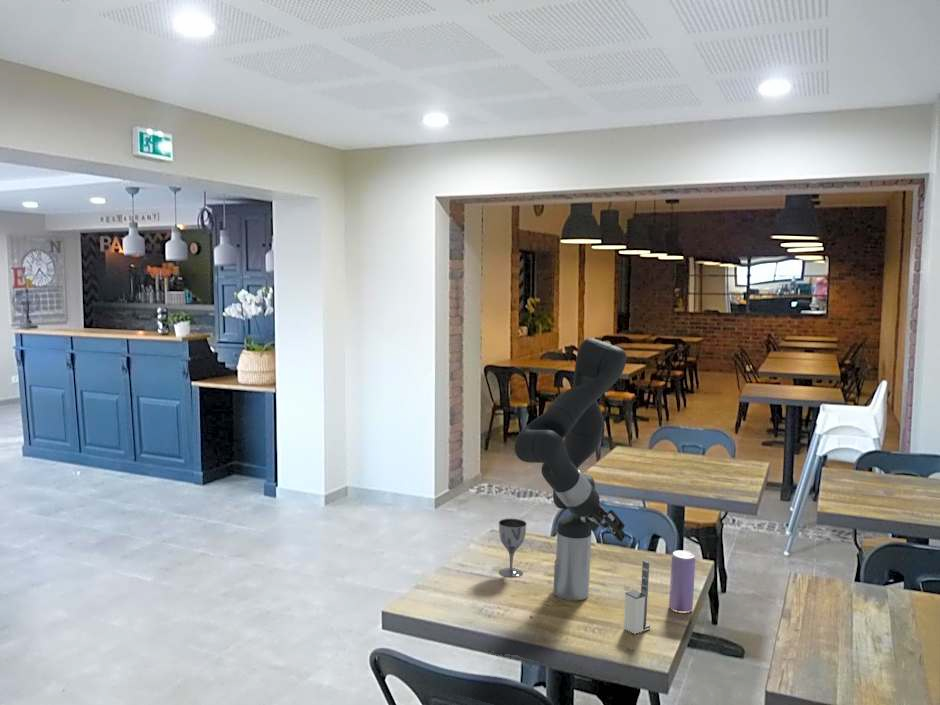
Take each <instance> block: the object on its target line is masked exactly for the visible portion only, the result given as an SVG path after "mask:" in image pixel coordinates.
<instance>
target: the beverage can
mask: <svg viewBox="0 0 940 705" xmlns="http://www.w3.org/2000/svg"><path fill="white" fill-rule="evenodd" d="M695 571H696V555H695V554H694V553H693V552H691V551H687V550H675V551H673V552H672V555H671V565H670V581H669V582H670V583H669V599H668V600H669V601H668V607H669V608H672V609H674V610H677V611H690V610H691V611H693V605H694V591H695V590H694V589H695V573H696V572H695Z"/></svg>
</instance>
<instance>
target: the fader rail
mask: <svg viewBox="0 0 940 705" xmlns="http://www.w3.org/2000/svg"><path fill="white" fill-rule="evenodd" d="M640 569H641V575H640V576H641V583H640V586H641V587H640V588H641V589H640V593H642V594H644V595H645V605H644V623H643V629H644V630H645V629H647V628H650V629H651V625H649V624H648V623H647V613H648V597H649V596H648V593H649V575H650V574H649V573H650V562H649V561H646V560H643V561H642V565H641V568H640Z"/></svg>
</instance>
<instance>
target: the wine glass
mask: <svg viewBox="0 0 940 705" xmlns="http://www.w3.org/2000/svg"><path fill="white" fill-rule="evenodd" d="M498 534H499V535H498V536H499V540H500V543H501V544H502V545H503V546H504V548H505V549H506V550H507V552H508V554H509V556H508V557H509V567H505V568H501V569H499V570H498V574H499V575H500V576H501V577H504V578H511V579H512V578H520V577H521V576H523V575H524V571H522V570H521V569H518V568H515V567H513V563H514V562H513V561H514V556H515V553H516V551H517V550H518V549H519V548H520V547H521V546H522V545H523V543H524V542H525V538H526V534H527V522H526V521H525V520H523V519H519V518H512V517H511V518H503V519H500V520H499V521H498Z"/></svg>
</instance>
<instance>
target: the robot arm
mask: <svg viewBox="0 0 940 705" xmlns="http://www.w3.org/2000/svg"><path fill="white" fill-rule="evenodd" d="M576 354H577V355H576V359H575V365H574V374H573V375H574V376H573V385H572V387H571V388H569V389H566V390H565V391H562V392H560V394H558V395H557V396H556V397H555V398H554V399H553V401H552V402H551V403H550V404H549V406H548V407H547V408H546V409H545V411H544V412H543V413H542V414H541V415H539V416H538V417H536V418H535V419H534V420H532V421H531V422H530V423H528V424H527V425H526V426H525V427H523V428H522V429H521V430H520V431H519V433H518V435H517V436H516V438H515V441H514V454H515V455H516V457H517V458H518V459H519V460H520V461H522V462H525V463H532V464H533V463H535V464H542V466H541V474H542V476H543V478H544V479H545V480H544V481H546V482H547V484H548V485H549V486H550V487H551V489H552V490H553V491H552V500H553V502H554V503H553V504H554V505H555V507H557V508H559V509H563V510H569V512H570V513H571V515H568V516H566V517H564V518H561V519H560V520H559V521H558V522H557V527H556V548H555V549H556V553H555V560H554V566H553V568H554V569H553V570H554V571H553V588H552V591H553V593H552V595H553V597H558V598H560V599H563V600H567V601H574V602H575V601H583V600H585V599H587V598H588V597H589V592H590V575H591V574H590V572H591V570H590V568H591V551H592V531H593V532H596V531H597V529H598V528H599V526H600V528H602V529H606V530H608V531H609V532H610V533H611V534H612V535H613V537H614V538H615V539H616V540H617V541H618V542H621V543H623V540H624V539H625V538H626V536H627V534H626V532H624V528H625V527H626V525H625V524H624V523H623V521H622V520H621V519H620V518H619V517H618V515H617V514H616V513H615V511H614V510H611V509H610V510H608V511H607V510H606V509H605V508H604V507H603V506H602V505H601V504H600V502H601V501H600V494H599V492H598V491H597V490H596V484H595V481H594V478H593V477H592V475H590V474H583V473H582V472H581V470H579V467H580V466H581V465H582V464H584V462H585V461H587V460H588V459H590V457H591V456H592V455H593V454H594V453H595V452H596V450H597V449H598V448H599V447H600V443H601V439H602V435H603V433H604V432H603V431H604V426H605V422H604V420H605V419H604V414H603V412H602V410H601V406H600V404H599V402H598V400H599V399H600V398H601V397H602V396H603V395H604V394H606V392H607V391H609V389H611V388H612V387H613V385H615V384H616V383H617V381H618V380H619V379H620V377H621V376H622V373H623V372H624V370H625V368H626V364H627V353H626V351H625V350H624V349H623V348H620V347H619V346H616V345H613V344H610V343H608V342H605V341H602V340H600V339H596V338H592V337H588V338H585V339H584V340H583V341H582V342H581V344H580V345H579V348H578V350H577V353H576ZM563 439H564V440H563ZM603 520H604V523H602V522H603Z"/></svg>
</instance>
